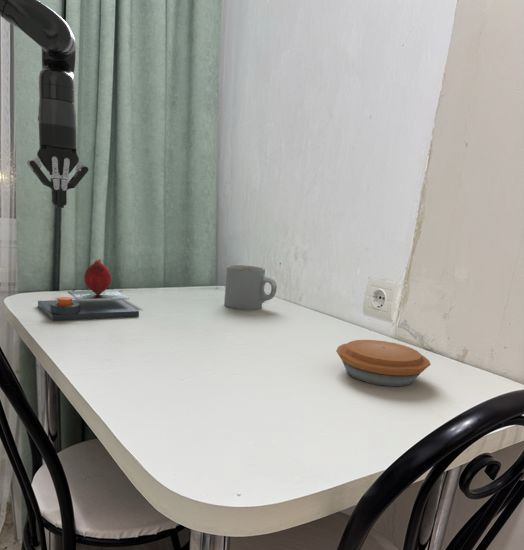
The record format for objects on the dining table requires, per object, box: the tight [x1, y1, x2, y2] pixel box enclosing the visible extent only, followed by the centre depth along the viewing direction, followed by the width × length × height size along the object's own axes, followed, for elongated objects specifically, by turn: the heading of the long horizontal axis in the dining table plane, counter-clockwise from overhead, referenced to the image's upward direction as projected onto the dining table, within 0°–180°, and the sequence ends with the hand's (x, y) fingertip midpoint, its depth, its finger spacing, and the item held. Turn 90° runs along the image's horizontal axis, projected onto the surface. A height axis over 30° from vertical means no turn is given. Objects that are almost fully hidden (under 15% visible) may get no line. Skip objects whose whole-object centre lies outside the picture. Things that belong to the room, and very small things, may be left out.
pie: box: [335, 339, 431, 387], centre depth 86 cm, size 15×16×5 cm
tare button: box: [56, 296, 73, 306], centre depth 104 cm, size 3×3×2 cm
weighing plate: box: [67, 289, 130, 301], centre depth 114 cm, size 11×9×1 cm
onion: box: [84, 258, 113, 294], centre depth 113 cm, size 6×6×8 cm
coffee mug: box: [223, 264, 277, 311], centre depth 132 cm, size 13×10×10 cm
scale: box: [37, 299, 140, 322], centre depth 111 cm, size 18×14×3 cm
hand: (59, 207), depth 114 cm, fingers closed
